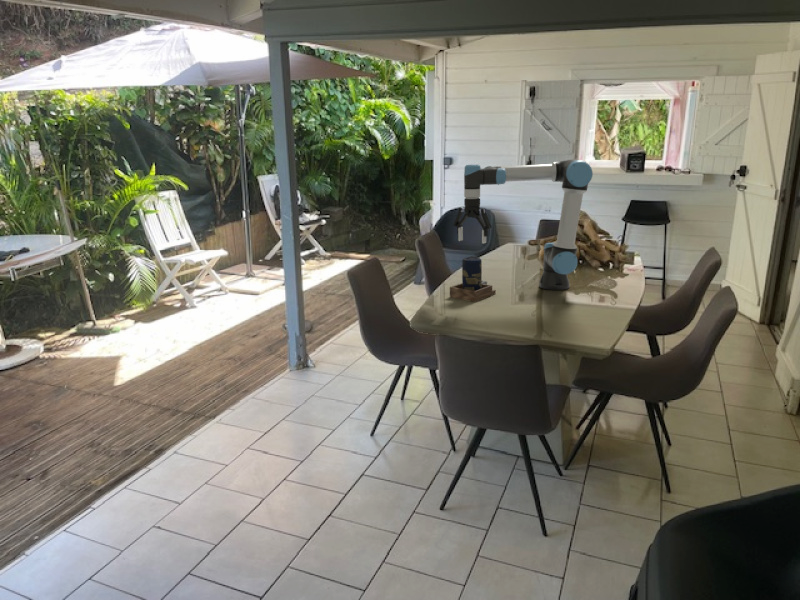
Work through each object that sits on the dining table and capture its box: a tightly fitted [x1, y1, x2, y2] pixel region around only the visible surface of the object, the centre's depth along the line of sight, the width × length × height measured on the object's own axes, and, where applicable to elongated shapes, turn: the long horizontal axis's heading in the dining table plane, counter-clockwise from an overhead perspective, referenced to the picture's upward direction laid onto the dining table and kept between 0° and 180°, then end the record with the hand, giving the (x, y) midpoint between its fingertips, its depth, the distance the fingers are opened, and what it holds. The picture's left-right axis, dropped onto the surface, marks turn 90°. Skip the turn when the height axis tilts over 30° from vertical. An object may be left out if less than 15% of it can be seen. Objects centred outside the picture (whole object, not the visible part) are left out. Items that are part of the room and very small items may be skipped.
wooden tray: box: [449, 283, 496, 303], centre depth 302 cm, size 15×18×5 cm
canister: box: [461, 256, 483, 291], centre depth 299 cm, size 10×10×18 cm
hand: (472, 241), depth 296 cm, fingers open, 13 cm apart
